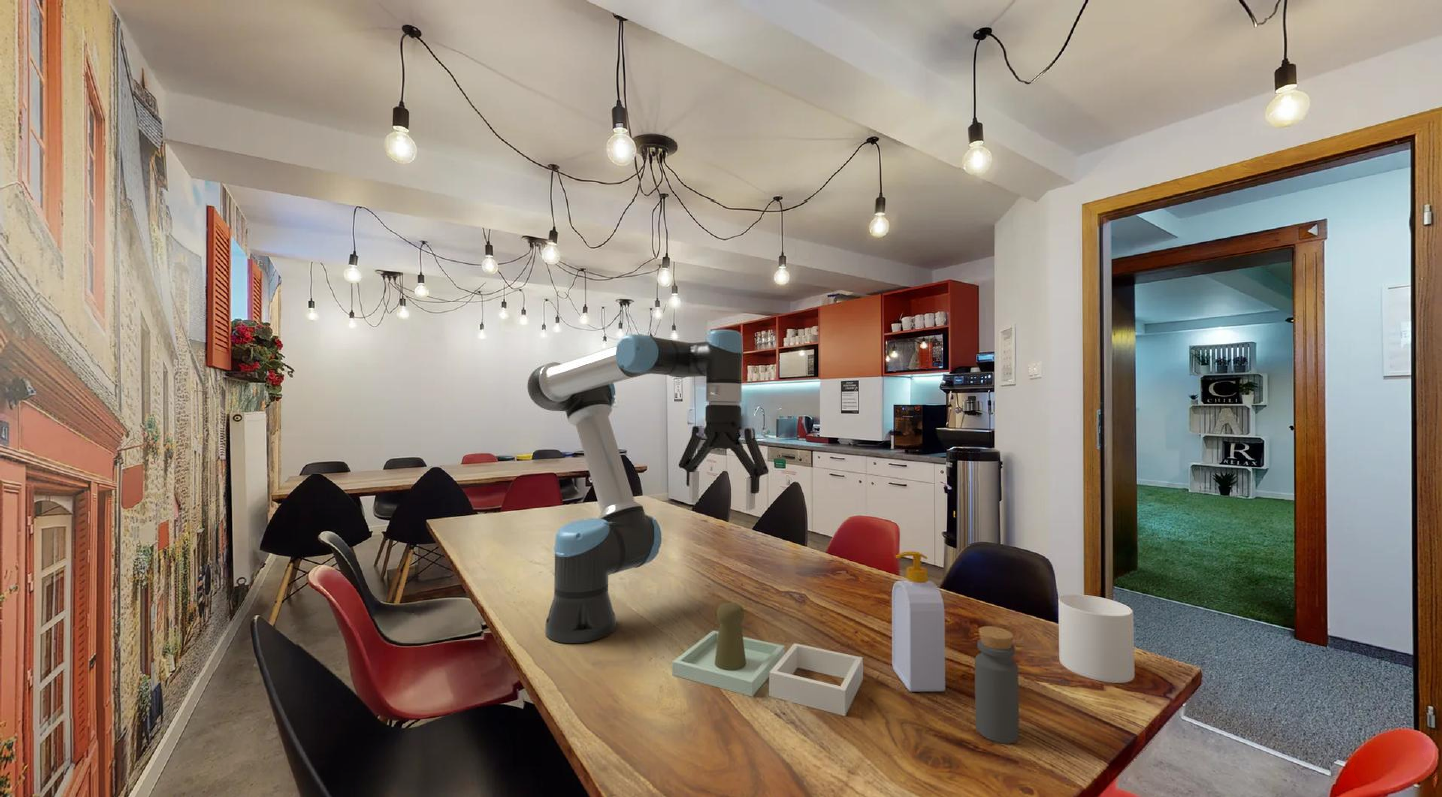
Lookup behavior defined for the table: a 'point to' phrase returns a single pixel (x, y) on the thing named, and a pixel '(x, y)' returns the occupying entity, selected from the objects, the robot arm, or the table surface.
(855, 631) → the table surface
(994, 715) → the bottle
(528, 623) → the table surface
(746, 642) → the tray
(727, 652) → the cork
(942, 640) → the soap bottle
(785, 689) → the frame
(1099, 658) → the cup
